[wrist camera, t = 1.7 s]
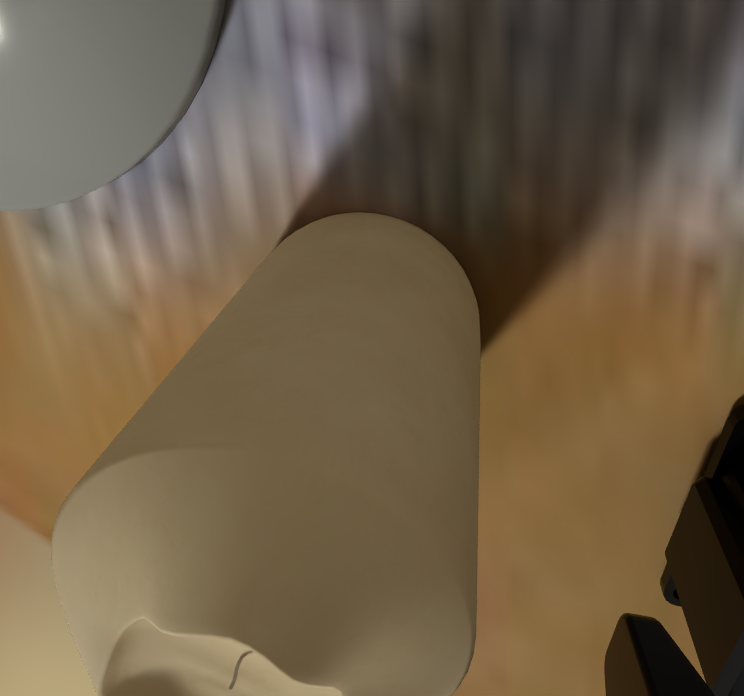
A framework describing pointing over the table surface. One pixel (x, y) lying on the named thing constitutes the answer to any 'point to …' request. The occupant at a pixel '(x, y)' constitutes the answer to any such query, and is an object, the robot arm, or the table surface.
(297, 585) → the candle
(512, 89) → the table surface
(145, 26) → the slate plate
